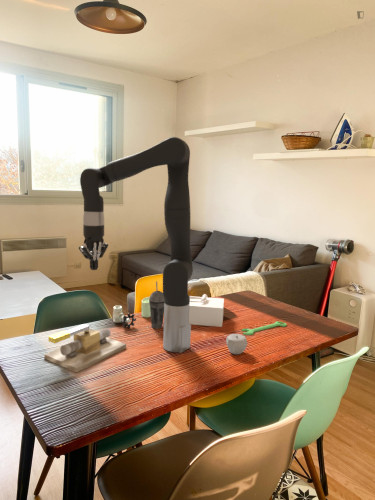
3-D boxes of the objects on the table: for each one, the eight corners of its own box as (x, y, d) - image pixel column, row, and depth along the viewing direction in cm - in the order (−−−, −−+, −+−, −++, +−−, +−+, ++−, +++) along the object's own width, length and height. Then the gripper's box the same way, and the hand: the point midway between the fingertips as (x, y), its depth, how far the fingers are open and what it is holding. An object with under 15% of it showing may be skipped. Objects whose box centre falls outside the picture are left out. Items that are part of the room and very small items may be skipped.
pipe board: (126, 347, 137) (126, 328, 136) (76, 372, 118) (76, 350, 117) (95, 337, 146) (95, 318, 144) (44, 358, 126) (43, 337, 125)
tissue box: (222, 327, 161) (223, 303, 160) (165, 322, 164) (165, 298, 163) (223, 316, 176) (224, 293, 174) (170, 312, 179) (171, 290, 177)
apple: (233, 359, 131) (234, 341, 130) (220, 350, 138) (221, 333, 137) (251, 355, 135) (252, 337, 134) (238, 346, 142) (239, 330, 141)
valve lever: (85, 330, 132) (85, 322, 132) (91, 332, 130) (91, 324, 130) (48, 344, 119) (48, 336, 119) (54, 347, 118) (54, 338, 117)
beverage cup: (168, 325, 160) (169, 280, 157) (160, 331, 154) (161, 284, 151) (153, 322, 163) (154, 278, 160) (145, 327, 157) (145, 281, 154)
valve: (108, 321, 163) (122, 330, 154) (108, 307, 162) (122, 314, 153) (121, 318, 167) (136, 327, 158) (122, 304, 166) (136, 312, 157)
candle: (147, 318, 168) (148, 300, 167) (139, 315, 171) (139, 298, 169) (154, 315, 172) (154, 298, 171) (146, 313, 175) (146, 296, 174)
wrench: (237, 333, 157) (246, 338, 153) (238, 329, 157) (246, 333, 152) (280, 322, 170) (289, 326, 166) (280, 318, 170) (289, 322, 165)
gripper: (87, 225, 130) (87, 274, 133) (114, 223, 141) (113, 268, 144) (72, 224, 134) (73, 271, 137) (99, 221, 145) (99, 265, 148)
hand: (94, 269), depth 141 cm, fingers closed
